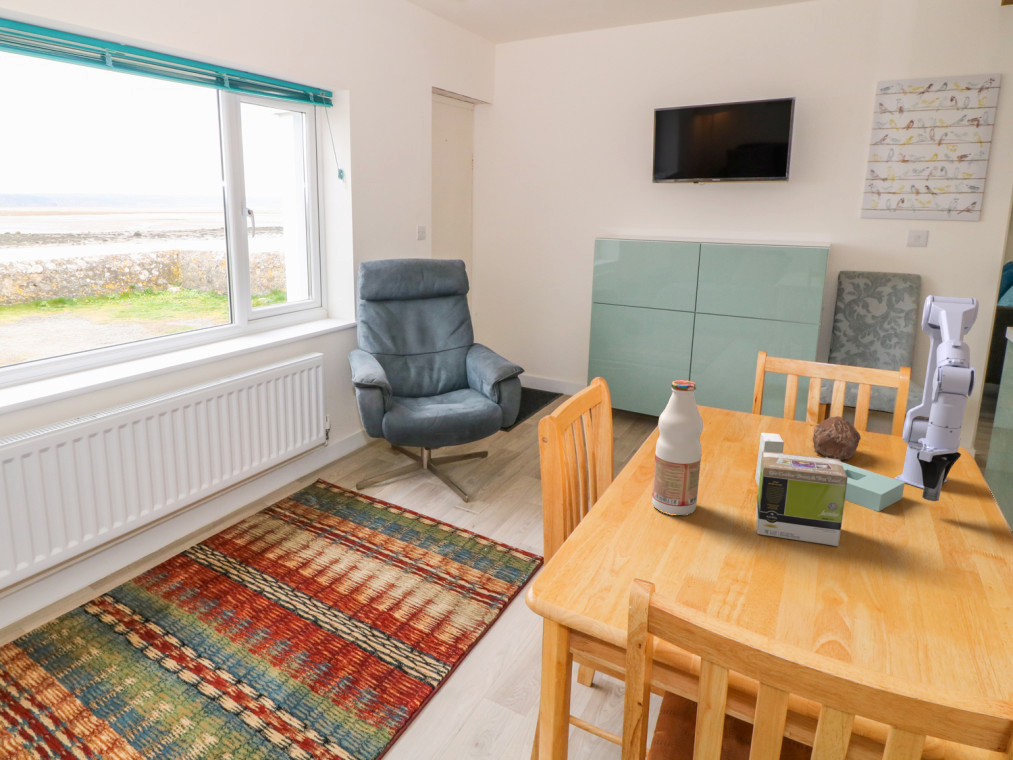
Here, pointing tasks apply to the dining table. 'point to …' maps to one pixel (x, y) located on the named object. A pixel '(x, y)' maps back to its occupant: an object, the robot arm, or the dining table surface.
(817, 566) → the dining table surface
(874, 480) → the hole block
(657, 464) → the fruit juice
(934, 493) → the metal peg
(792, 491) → the tea box
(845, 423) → the decorative rock
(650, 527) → the dining table surface
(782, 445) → the skincare box
